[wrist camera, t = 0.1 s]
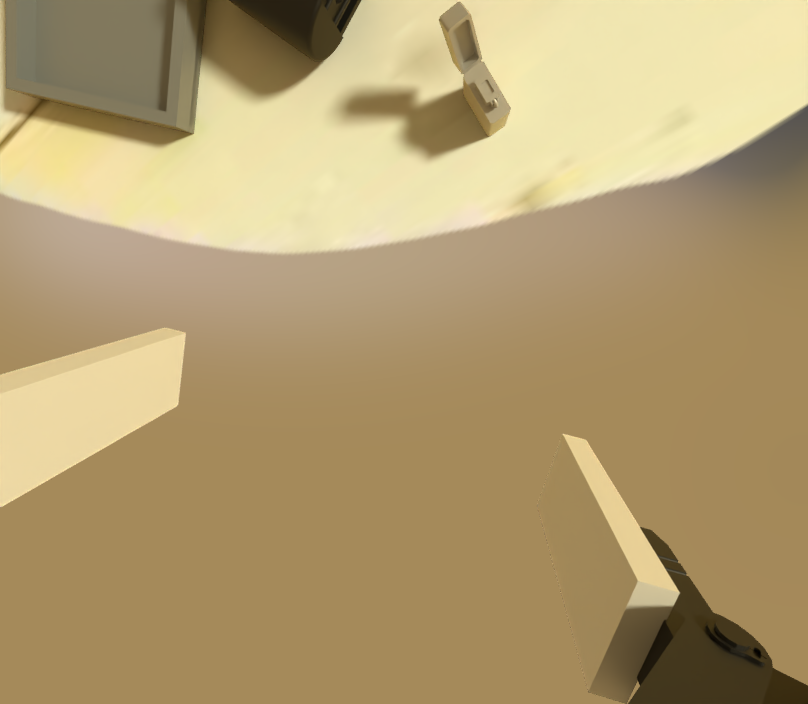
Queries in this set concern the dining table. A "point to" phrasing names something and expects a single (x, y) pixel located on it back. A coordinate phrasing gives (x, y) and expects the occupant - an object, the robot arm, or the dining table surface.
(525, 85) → the dining table surface
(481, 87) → the lighter
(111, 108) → the seat tray
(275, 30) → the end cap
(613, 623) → the robot arm
